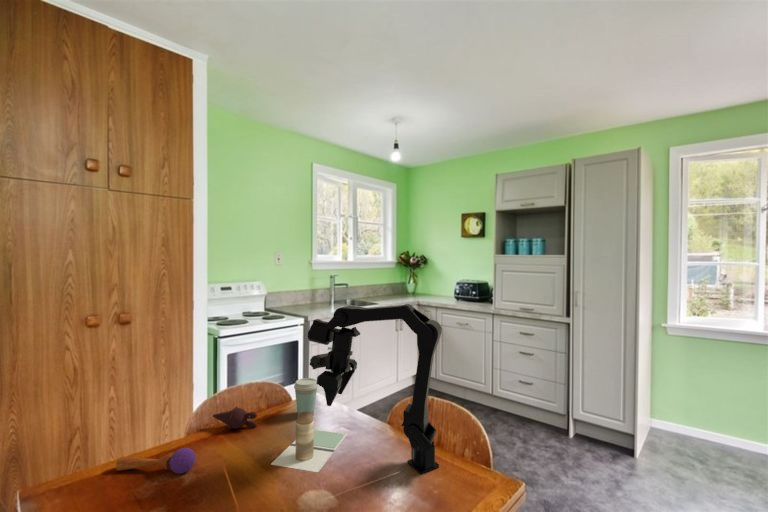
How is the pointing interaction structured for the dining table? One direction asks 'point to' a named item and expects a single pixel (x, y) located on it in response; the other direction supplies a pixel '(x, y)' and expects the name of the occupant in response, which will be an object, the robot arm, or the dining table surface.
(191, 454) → the kendama
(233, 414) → the icecream
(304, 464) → the board
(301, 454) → the wooden pin
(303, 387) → the coffee cup
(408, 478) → the dining table surface
